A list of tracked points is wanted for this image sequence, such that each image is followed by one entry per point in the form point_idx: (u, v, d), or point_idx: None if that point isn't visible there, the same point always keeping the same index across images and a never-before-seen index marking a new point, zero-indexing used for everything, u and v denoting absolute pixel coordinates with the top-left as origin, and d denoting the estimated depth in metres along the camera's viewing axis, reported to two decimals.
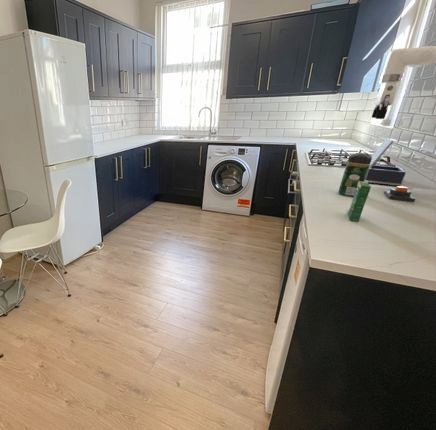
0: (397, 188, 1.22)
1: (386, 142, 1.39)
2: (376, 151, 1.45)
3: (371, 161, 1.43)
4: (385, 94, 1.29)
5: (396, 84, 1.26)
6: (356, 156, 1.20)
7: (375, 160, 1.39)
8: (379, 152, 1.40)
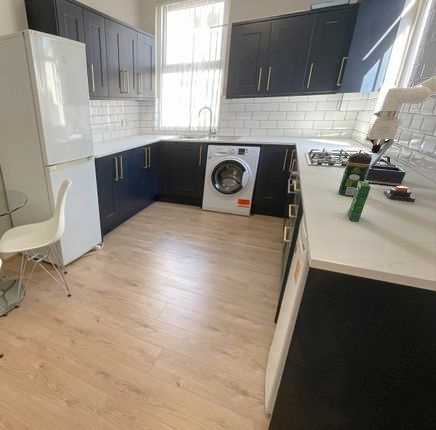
0: (397, 188, 1.22)
1: None
2: None
3: (371, 161, 1.43)
4: None
5: (375, 120, 1.37)
6: (356, 156, 1.20)
7: (375, 160, 1.39)
8: (379, 152, 1.40)
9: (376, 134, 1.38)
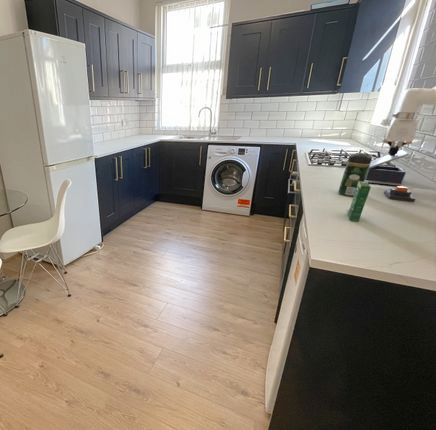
0: (397, 188, 1.22)
1: (400, 153, 1.38)
2: (384, 157, 1.44)
3: (374, 163, 1.42)
4: (387, 130, 1.38)
5: (393, 122, 1.34)
6: (356, 156, 1.20)
7: (379, 163, 1.39)
8: (387, 158, 1.39)
9: (394, 136, 1.35)
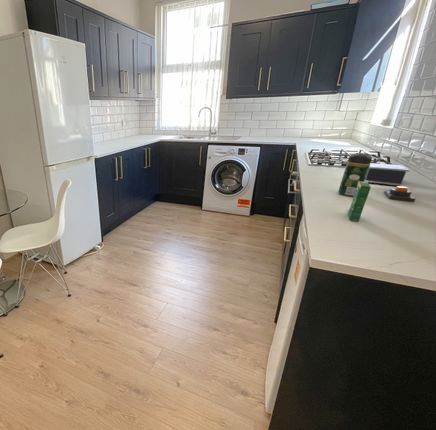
0: (397, 188, 1.22)
1: (401, 167, 1.39)
2: (385, 164, 1.45)
3: (375, 165, 1.43)
4: None
5: None
6: (356, 156, 1.20)
7: (380, 168, 1.39)
8: (388, 167, 1.40)
9: None
